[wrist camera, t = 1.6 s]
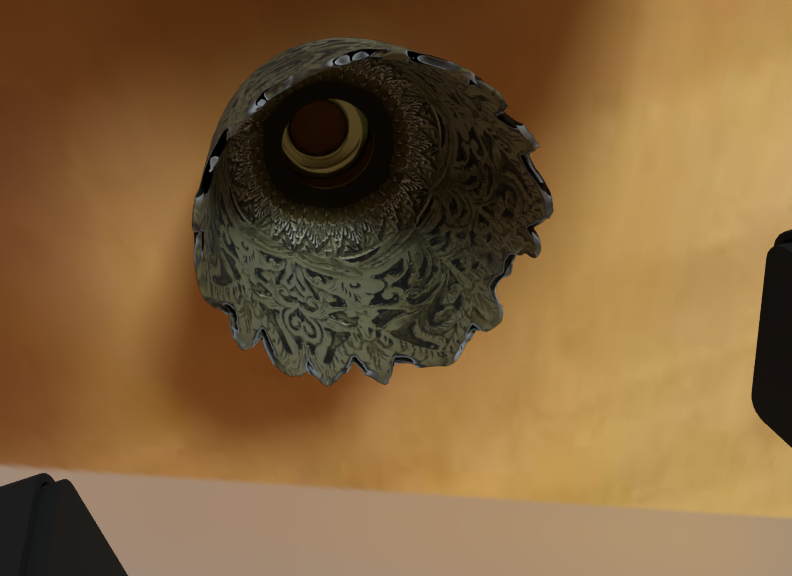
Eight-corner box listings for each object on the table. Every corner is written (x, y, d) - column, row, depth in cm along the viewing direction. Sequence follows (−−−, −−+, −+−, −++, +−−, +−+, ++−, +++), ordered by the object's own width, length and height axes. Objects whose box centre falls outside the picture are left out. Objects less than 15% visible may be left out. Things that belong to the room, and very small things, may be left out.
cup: (362, 274, 24) (434, 428, 18) (145, 184, 21) (131, 330, 14) (483, 72, 22) (618, 160, 15) (260, -64, 19) (308, -29, 12)
